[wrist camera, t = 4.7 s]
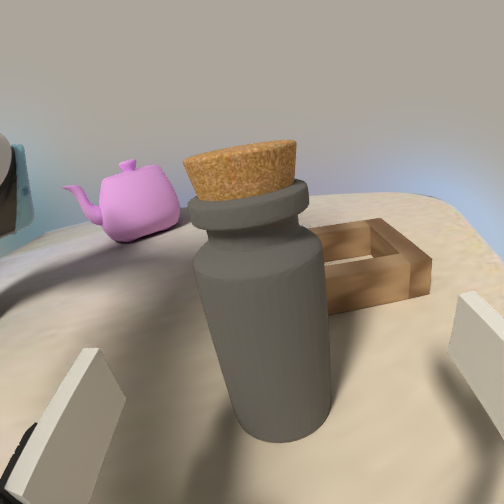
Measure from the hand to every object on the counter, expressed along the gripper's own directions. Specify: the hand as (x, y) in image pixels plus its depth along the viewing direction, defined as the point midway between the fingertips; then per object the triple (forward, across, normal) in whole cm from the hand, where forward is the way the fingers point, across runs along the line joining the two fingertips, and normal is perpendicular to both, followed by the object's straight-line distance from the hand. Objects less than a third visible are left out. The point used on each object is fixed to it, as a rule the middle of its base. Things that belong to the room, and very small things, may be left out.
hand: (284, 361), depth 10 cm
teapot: (+53, -26, -9) cm, 60 cm away
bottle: (+5, 0, -8) cm, 10 cm away
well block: (+21, +7, -8) cm, 24 cm away
